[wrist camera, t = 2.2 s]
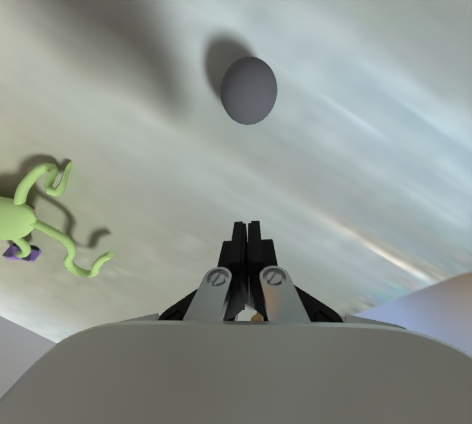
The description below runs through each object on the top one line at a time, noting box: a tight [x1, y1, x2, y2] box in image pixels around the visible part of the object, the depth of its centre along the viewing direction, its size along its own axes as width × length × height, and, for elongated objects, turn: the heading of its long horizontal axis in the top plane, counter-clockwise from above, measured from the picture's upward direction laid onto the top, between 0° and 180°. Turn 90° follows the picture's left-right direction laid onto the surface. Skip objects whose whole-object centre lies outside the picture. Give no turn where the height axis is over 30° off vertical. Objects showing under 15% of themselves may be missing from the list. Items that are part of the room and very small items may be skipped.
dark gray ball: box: [221, 57, 277, 125], centre depth 17 cm, size 6×6×6 cm
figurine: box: [0, 161, 114, 277], centre depth 28 cm, size 18×27×6 cm
